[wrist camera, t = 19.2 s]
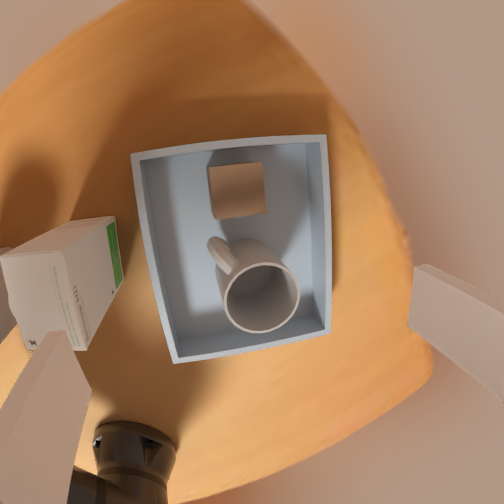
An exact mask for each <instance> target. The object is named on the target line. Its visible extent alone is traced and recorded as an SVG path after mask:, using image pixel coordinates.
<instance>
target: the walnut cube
mask: <svg viewBox="0 0 504 504" xmlns="http://www.w3.org/2000/svg"><path fill="white" fill-rule="evenodd" d="M206 171H207V179H208V188H209V197H210V205H211V212H212V214H213V216H214V218H215V220H220V219H227V218H234V217H241V216H249V215H256V214H264V213H267V211H266V200H265V188H264V177H263V166H262V162H246V163H236V164H227V165H219V166H210V167H206Z"/></svg>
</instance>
